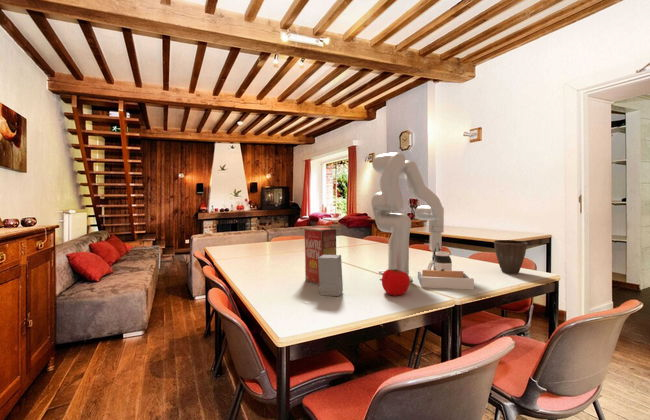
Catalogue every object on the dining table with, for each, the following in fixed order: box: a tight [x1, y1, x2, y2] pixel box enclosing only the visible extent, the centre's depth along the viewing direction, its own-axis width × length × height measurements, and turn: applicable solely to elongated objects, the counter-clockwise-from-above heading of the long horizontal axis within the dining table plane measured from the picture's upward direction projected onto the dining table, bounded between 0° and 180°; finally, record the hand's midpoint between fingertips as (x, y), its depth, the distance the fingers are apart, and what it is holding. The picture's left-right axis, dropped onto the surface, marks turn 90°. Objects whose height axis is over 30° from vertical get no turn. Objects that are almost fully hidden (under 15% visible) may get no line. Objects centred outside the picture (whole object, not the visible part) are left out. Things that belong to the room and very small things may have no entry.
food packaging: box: [304, 226, 337, 285], centre depth 151 cm, size 13×9×25 cm
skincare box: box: [318, 254, 344, 297], centre depth 131 cm, size 8×7×16 cm
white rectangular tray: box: [417, 271, 475, 291], centre depth 146 cm, size 21×17×4 cm
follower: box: [421, 269, 464, 278], centre depth 150 cm, size 18×2×6 cm, turn 79°
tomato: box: [381, 269, 411, 297], centre depth 131 cm, size 11×13×10 cm
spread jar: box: [426, 250, 453, 271], centre depth 162 cm, size 12×11×12 cm
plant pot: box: [493, 239, 528, 275], centre depth 166 cm, size 15×15×16 cm
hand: (435, 263), depth 170 cm, fingers closed
